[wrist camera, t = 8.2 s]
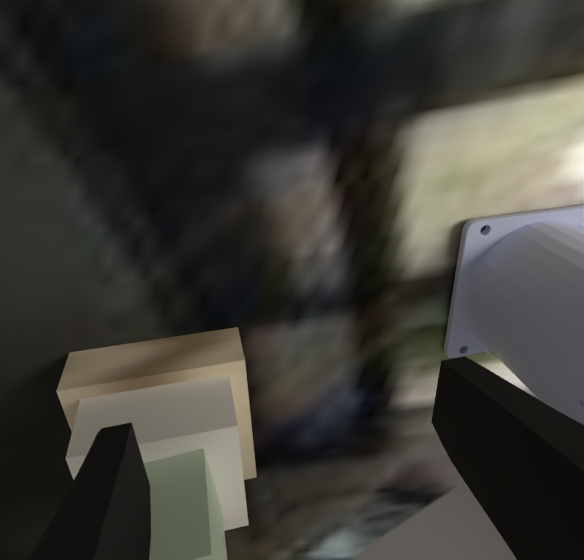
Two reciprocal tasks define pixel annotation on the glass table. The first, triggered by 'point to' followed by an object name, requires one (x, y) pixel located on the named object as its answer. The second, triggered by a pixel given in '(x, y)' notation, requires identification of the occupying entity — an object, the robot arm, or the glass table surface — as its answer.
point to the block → (185, 510)
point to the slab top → (174, 432)
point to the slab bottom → (162, 374)
